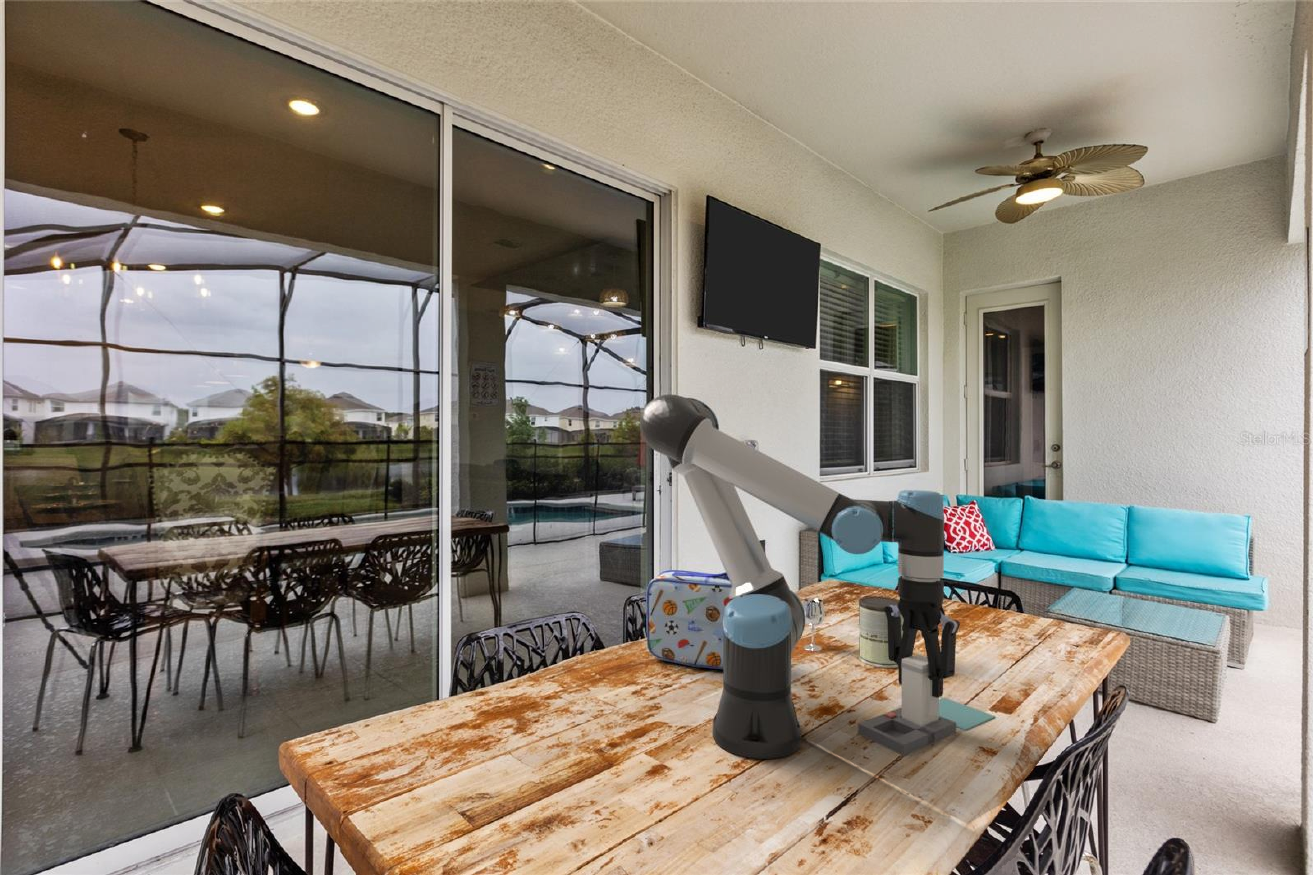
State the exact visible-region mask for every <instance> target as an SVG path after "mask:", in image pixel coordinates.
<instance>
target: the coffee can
mask: <svg viewBox="0 0 1313 875" xmlns="http://www.w3.org/2000/svg"><path fill="white" fill-rule="evenodd" d="M898 602H899V599H896V598H893V597H886V596H863V597H861V598H859V599H858V605H859V606H858V608H859V609H858V613H859V614H858V617H859V618H858V622H859V623H858V629H859V630H858V632H859V634H858V637H859V641H858V643H859V645H858V648H859V649H858V651H859V652H858V654H859V655H858V659H859V661H861V663H863V664H865V665H868V666H871V667H875V668H883V669H896V668H897V669H898V665H897V664H896V663H895V662H894V661H890V660H889V657H888V624H887V617H886V613H885V610H884V608H885V607H886V606H890V605H897V604H898ZM900 617H901V636H902V635H903V631H902V626H903V621H904V619H903V617H902V615H900Z"/></svg>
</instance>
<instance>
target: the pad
mask: <svg viewBox="0 0 1313 875" xmlns="http://www.w3.org/2000/svg"><path fill="white" fill-rule="evenodd" d="M939 716H941V717H943V718H946V719H948V720H951V721H953V722H956V729H959V730H962V731H963V732H964V731H965V732H966V731H968V730H971V729H973V728H975V727H977V726H980V725H982V724H985V723H986V722H988V721H992V720H993V719H995V718H996V716H995V715H992V714H990V713H987V712H985V711H982V710H979V709H977V708H973V707H972V706H971V707H970V706H968V705H965V704H962V703H960V702H957V701H954V700H952V699H950V698H946V697H942V698H939Z"/></svg>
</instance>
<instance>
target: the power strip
mask: <svg viewBox="0 0 1313 875" xmlns="http://www.w3.org/2000/svg"><path fill="white" fill-rule="evenodd" d="M857 734H859V736H862V737H864V738H866V739H868V740H870V741H872V742H874V743H877V744H879V745H881V746H883V747H885V748H887V749H889V750H892V751H893V752H895V753H898V754H900V755H902V756H906V755H908V754H912V753H913V752H916V751H919V750H920V749H922V748H925V747H927V746H930V745H932V744H934V743H936V742H939V741H941V740H942V739H945V738H948V737H949V736H952V735H954V734H957V727H956V722H953V721H951V720H948V719H946V718H943V717H941V716H939V720H938V721H936V722H933V723H931V724H928V725H926V726H923V727H922V726H919V725H917V724H915V723H912V722H910V721H908V720H905V719H903V718H902V707H899V708H897V709H896V708H895V709H893V710H891V711H888V712H885V713H882V714H881V715H878V716H874V717H872V718H869V719H866V720H864V721H861V722H859V723H858V724H857Z"/></svg>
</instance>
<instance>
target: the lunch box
mask: <svg viewBox="0 0 1313 875" xmlns="http://www.w3.org/2000/svg"><path fill="white" fill-rule="evenodd" d="M731 588H732V585H731V582H730V580H729V578H728V575H727V573H726V571H725V572H722V573H709V572H707V573H706V572H698V571H692V570H691V571H689V570H683V569H682V570H681V569H680V570H678V569H669V570H665V571H661V572H660V573H659V574H658V575H657V577H655V578H653V579H651V581H649V583H648V585H647V587H646V590H645V591H646V592H645V593H646V594H645V600H646V601H645V602H646V647H647V649H648V652H649V653H650V654H651V655H652V656H653V657H654V658H656V659H659V660H663V661H665V662H671V663H675V664H680V665H685V666H690V667H694V668H707V669H714V670H723V645H724V630H723V618H724V611H725V607H726V605H727V604H728V603H729V602H730V599H729V594H730V591H731Z"/></svg>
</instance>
